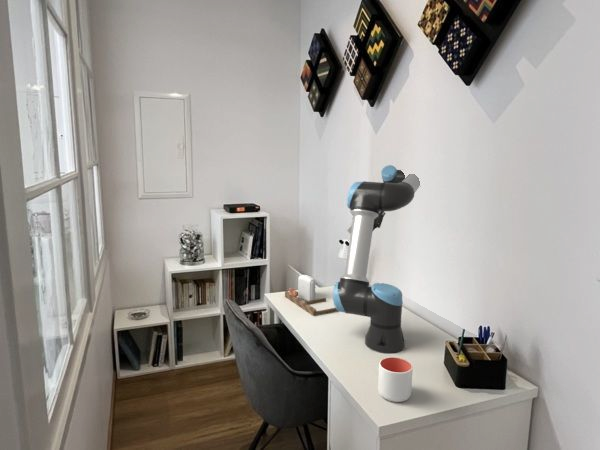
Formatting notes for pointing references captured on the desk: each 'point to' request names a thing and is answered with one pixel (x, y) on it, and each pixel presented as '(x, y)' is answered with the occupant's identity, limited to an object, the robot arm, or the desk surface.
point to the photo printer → (306, 287)
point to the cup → (395, 379)
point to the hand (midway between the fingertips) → (356, 234)
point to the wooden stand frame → (307, 303)
